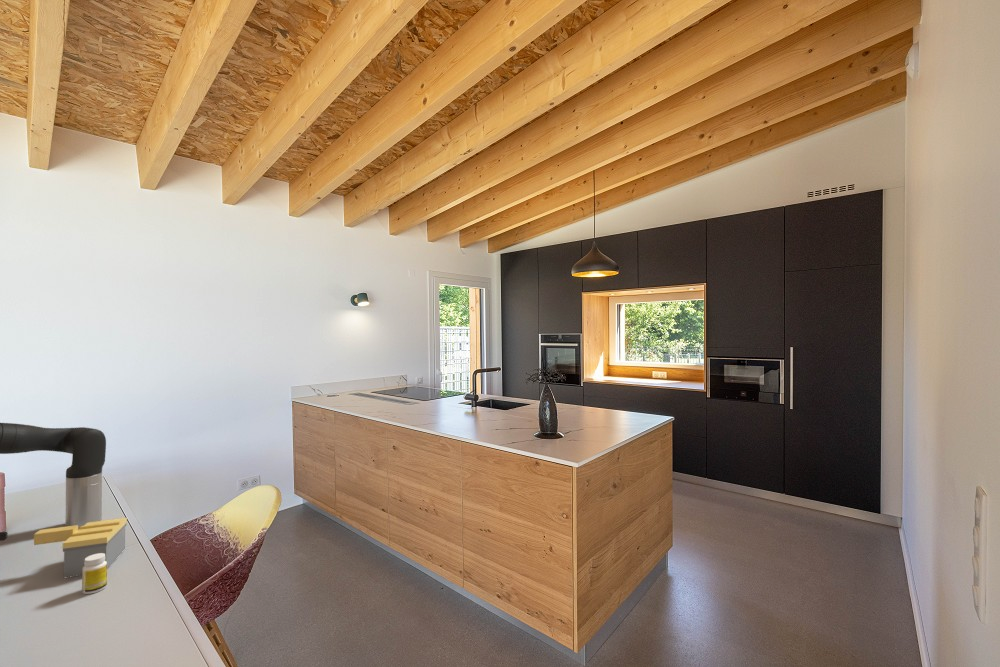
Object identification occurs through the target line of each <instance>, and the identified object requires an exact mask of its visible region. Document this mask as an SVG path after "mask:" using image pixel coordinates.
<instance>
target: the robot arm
mask: <svg viewBox="0 0 1000 667" xmlns="http://www.w3.org/2000/svg"><path fill="white" fill-rule="evenodd" d="M106 450H107V438H106V435H105V433H104V432H103V431H102V430H100V429H98V428H92V427H84V426H83V427H80V426H79V427H64V428H63V427H62V428H61V427H60V428H57V427H56V428H55V427H52V428H50V427H42V426H35V425H30V424H23V423H22V424H21V423H11V422H0V455H6V454H7V455H9V454H13V455H14V454H22V453H29V452H38V451H39V452H40V451H43V452H44V451H48V452H57V453H58V452H59V453H67V454H71V456H72V457H71V465H70V466H69V467H67V469H66V471H65V516H64V517H65V522H64V523H65V525H64V527H67V526H75V525H78V530H79V529H80V527H81V526H84V525H85V524H86V523H88V522H96V521H103V518H102V517H103V514H102V513H103V510H102V508H103V507H102V506H103V502H102V501H103V500H102V498H103V467H104V465H105V462H106V452H107V451H106ZM7 539H8V531H0V542H3V541H6V540H7Z"/></svg>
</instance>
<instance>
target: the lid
mask: <svg viewBox="0 0 1000 667" xmlns="http://www.w3.org/2000/svg"><path fill="white" fill-rule="evenodd" d="M127 520H128V518H127V517H122V518H115V519H114V518H113V519H107V520H101V521H96V522H88V523H86V524H85V525H84V526H81V527H80V529H78V525H75V526H67V527H65V526H59V527H53V528H45V529H39V530H38V531H36V532H35V533H34V534H33V545H34V546H38V545H46V544H54V543H60V542H62V550H63V549H65V548H72V547H80V546H87V545H94V544H101V543H107V542H108V541H109V540H110V539H111V538H112V537H113V536H114V535H115V534H116V533H117V532H118V531H119V530H120V529H121V528H122V527H123V526H124V525H125V524H126V525H127V522H128V521H127Z"/></svg>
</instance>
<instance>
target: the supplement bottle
mask: <svg viewBox="0 0 1000 667" xmlns="http://www.w3.org/2000/svg"><path fill="white" fill-rule="evenodd" d="M84 565H85V566H84V567H83V569H82V575H81V578H82V579H81V580H82V581H81V582H82V583H81V584H82V585H81V588H82V589H81V592H82V594H83V595H90V594H91V595H92V594H95V593H99V592H100V591H102V590H104V589H106V588H107V585H108V570H107V562H106V561H105V554H104V553H98V554H94V555H91V556H88V557H86V558H85V560H84Z"/></svg>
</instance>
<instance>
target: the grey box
mask: <svg viewBox="0 0 1000 667" xmlns="http://www.w3.org/2000/svg"><path fill="white" fill-rule="evenodd" d="M126 526H127V523H126V524H125V525H124V526H123V527H122V528H121V529H120V530H119V531H118V532H117V533H116V534H115V535H114V536H113V537H112V538H111V539H110V540H109V541H108V542H107V543H101V544H94V545H87V546H80V547H72V548H65V549H63V548H62V552H63V578H64V577H67V578H71V577H70V576H74V577H77V576H76V575H80V576H82V569H83V567H84V566H85V565H84V560H85V558H86V557H88V556H91V555H94V554H98V553H104V554H105V561H106V562H107V569H108V570H109V568H111V567H112V565H113V564H114V563H115V562H114V561H116V560H117V559H118V558H119V557H120V556H121V555H122V554H123V552H124V551H125V550H126ZM124 549H125V550H124ZM123 550H124V551H123ZM122 551H123V552H122ZM120 554H121V555H120ZM119 555H120V556H119ZM118 556H119V557H118ZM117 557H118V558H117ZM116 558H117V559H116ZM113 562H114V563H113ZM112 563H113V564H112ZM111 564H112V565H111Z"/></svg>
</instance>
